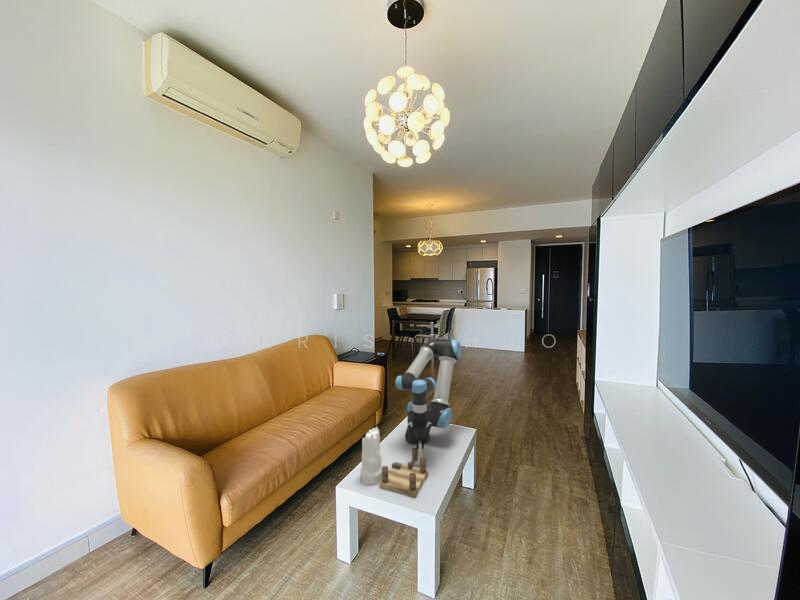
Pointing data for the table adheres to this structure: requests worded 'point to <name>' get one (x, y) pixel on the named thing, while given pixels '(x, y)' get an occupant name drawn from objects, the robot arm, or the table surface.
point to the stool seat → (404, 478)
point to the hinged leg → (413, 458)
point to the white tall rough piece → (371, 458)
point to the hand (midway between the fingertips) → (420, 454)
